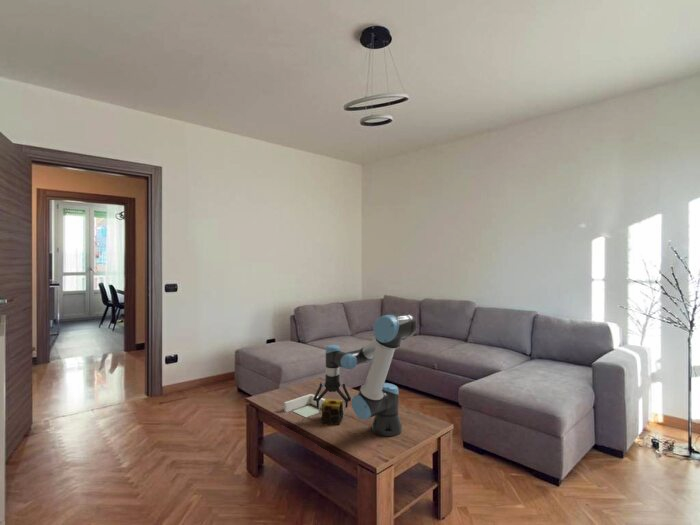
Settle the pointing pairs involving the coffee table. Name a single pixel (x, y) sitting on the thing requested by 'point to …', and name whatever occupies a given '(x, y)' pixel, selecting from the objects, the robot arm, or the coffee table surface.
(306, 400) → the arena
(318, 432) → the coffee table surface
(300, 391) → the coffee table surface
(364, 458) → the coffee table surface
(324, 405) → the candle
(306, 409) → the pad
